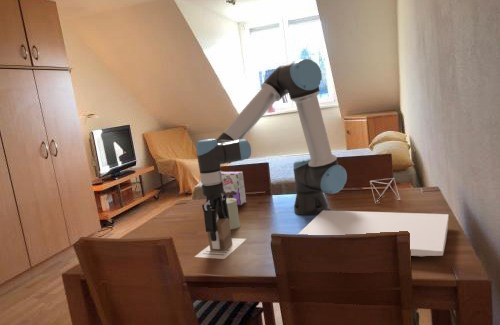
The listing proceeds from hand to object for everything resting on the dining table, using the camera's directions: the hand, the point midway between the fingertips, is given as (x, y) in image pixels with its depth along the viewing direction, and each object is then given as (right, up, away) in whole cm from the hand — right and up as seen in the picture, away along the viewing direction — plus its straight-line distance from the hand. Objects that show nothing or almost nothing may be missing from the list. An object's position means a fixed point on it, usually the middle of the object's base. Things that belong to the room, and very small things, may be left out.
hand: (221, 244), depth 141 cm
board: (+52, +3, -9) cm, 53 cm away
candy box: (+2, +8, +61) cm, 62 cm away
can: (+2, +2, +23) cm, 23 cm away
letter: (0, -1, 0) cm, 1 cm away
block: (0, -1, 0) cm, 1 cm away
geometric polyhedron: (+71, +13, +33) cm, 80 cm away
